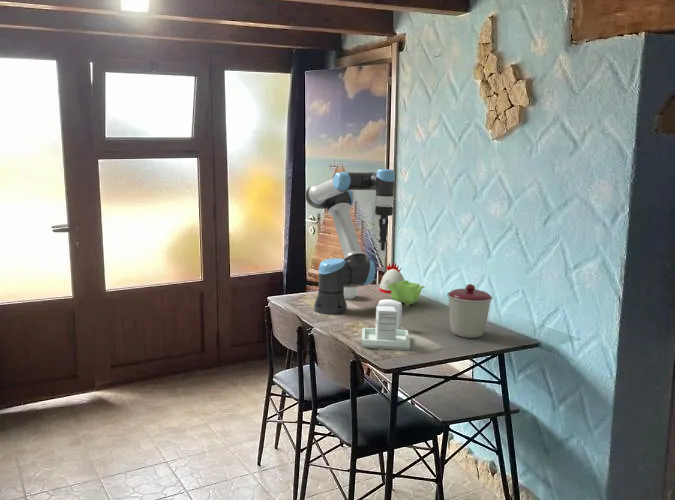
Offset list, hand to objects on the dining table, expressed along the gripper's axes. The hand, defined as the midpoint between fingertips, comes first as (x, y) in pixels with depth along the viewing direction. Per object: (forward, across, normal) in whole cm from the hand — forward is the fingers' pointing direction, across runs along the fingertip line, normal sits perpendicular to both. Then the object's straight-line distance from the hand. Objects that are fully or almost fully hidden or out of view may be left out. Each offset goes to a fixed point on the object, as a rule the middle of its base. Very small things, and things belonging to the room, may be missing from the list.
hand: (381, 255), depth 271 cm
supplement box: (+28, -32, -2) cm, 43 cm away
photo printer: (+29, -13, -4) cm, 32 cm away
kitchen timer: (+29, +57, -8) cm, 64 cm away
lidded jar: (+29, +37, +15) cm, 49 cm away
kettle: (+29, +31, -13) cm, 44 cm away
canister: (+29, -16, -36) cm, 49 cm away
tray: (+29, -32, -2) cm, 43 cm away
